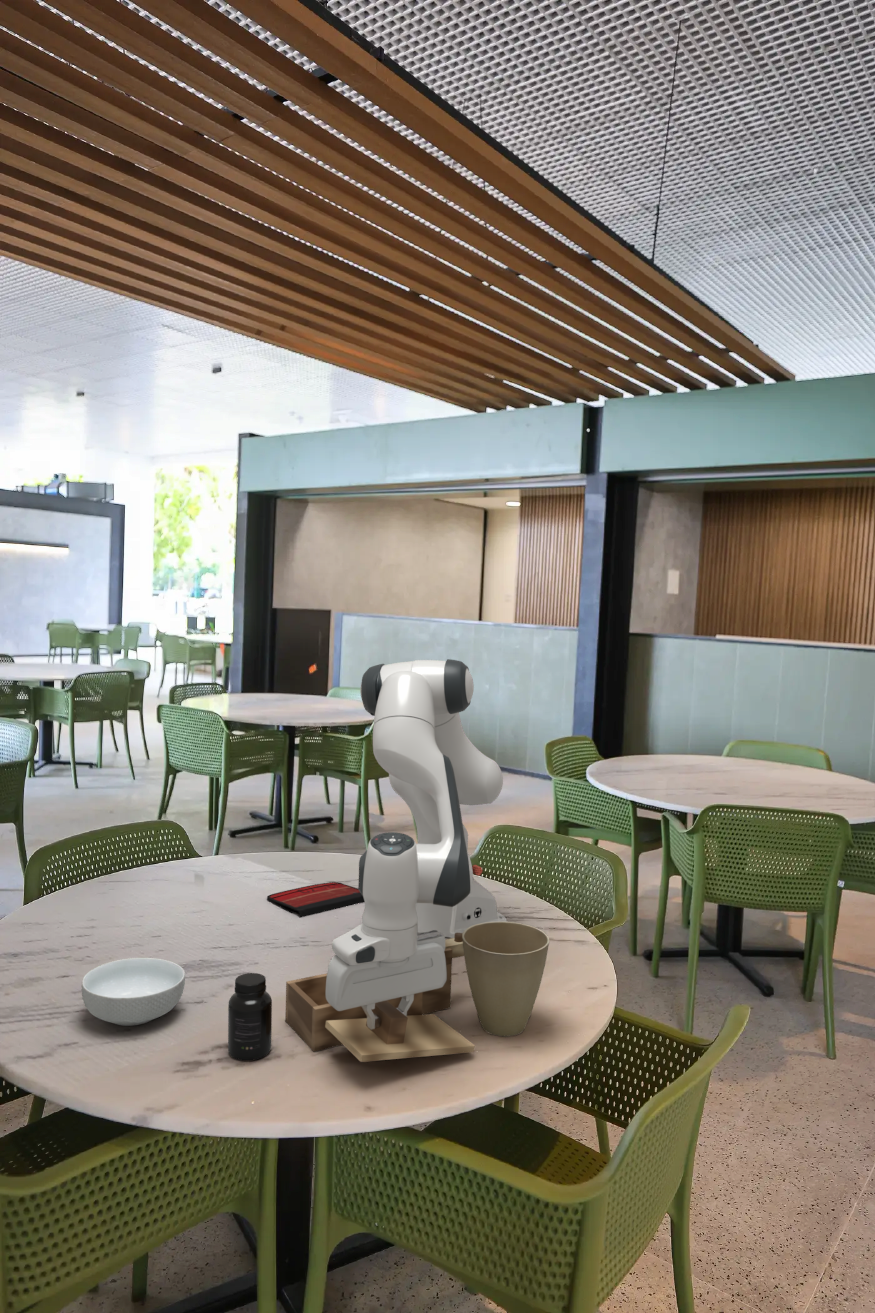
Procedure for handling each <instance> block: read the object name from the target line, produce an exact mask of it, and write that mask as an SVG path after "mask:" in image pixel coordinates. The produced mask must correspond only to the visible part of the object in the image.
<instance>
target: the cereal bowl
mask: <svg viewBox="0 0 875 1313" xmlns="http://www.w3.org/2000/svg"><path fill="white" fill-rule="evenodd" d="M185 982H186V972H185V969H184V968H183V967H182V966H181V965H179V964H177V963H175V962H173V961H171V960H168V959H167V960H166V959H163V958H155V957H130V958H122V959H117V960H113V961H109V962H105V963H103V964H100V965H99V966H96V967H94V968H92V969H91V970H89V971H88V972H87V973H85V975H84V977H83V978H82V981H81V996H82V997H81V998H82V1001H83V1004H84V1007H85V1008H86V1010H87V1011H88V1012H89V1013H90V1014H91V1015H93V1017H96V1018H97V1019H99V1020H102V1021H105V1022H106V1023H112V1024H114V1025H118V1026H124V1027H126V1026H127V1027H128V1026H131V1027H132V1026H138V1025H139V1026H140V1025H143V1024H146V1023H148V1022H151V1021H152V1020H155V1019H157V1018H159V1017H162V1016H164V1015H166V1014H167V1013H168V1012H170V1011H171V1010H173V1008H175V1006H176V1005H177V1004H178V1003H179V1001H180V999H181V997H182V996H183V994H184V989H185Z"/></svg>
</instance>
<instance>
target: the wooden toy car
mask: <svg viewBox="0 0 875 1313" xmlns="http://www.w3.org/2000/svg"><path fill="white" fill-rule="evenodd" d="M462 934H463V933H455V935H454V938H445V949H448V948H451V949H452V959H456V958H461V957H464V949H463V940H462Z"/></svg>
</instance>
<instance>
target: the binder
mask: <svg viewBox="0 0 875 1313" xmlns="http://www.w3.org/2000/svg"><path fill="white" fill-rule="evenodd" d="M266 900H267V901H268V902H270V903H272V904H274V905H275V906H276V907H279V908H280V909H282V910H283V911H286V912H288V913H290V914H293V912H294V913H299V916H298V917H299V919H300V918H301V919H302V918H304V917H308V916H312V915H317V914H321V913H325V912H329V911H334V910H337V909H342V908H345V907H346V906H347V907H349V906H354V904H355V905H358V903H359V904H362V903H365V901H364V897H363V896H362V894H361V893H360V891H359V890H358V887H355V886H351V885H349V884H345V883H342V882H339V881H330V882H323V883H317V884H311V885H306V886H301V887H298V888H292V889H287V890H282V891H279V892H276V893H272V894H271V893H270V894H269V895H267V897H266Z"/></svg>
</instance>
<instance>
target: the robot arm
mask: <svg viewBox="0 0 875 1313" xmlns="http://www.w3.org/2000/svg"><path fill="white" fill-rule="evenodd" d="M474 686H475V684H474V680H473V676H472V673H471V671H470V669H469V667H468V665H467V664H465V663H464V661H461V660H459V659H458V660H457V659H451V658H450V659H446V660H440V659H439V660H437V659H415V660H412V661H411V660H409V661H401V662H393V663H389V664H385V663H380V664H377V665H372V666H369V667H368V668H367V670H366V671H365V672H364V673H363V675H362V678H361V682H360V693H359V694H360V698H361V701H362V706H363V708H364V710H365V711H366V712H367V713H368V714H369V715H371V716H372V717H373V718H374V719H373V727H372V728H373V730H372V751H373V755H374V758H375V760H376V762H377V763H378V765H379V766H380V767H381V768H382V769H383V770H384V771H385V772H386V773H388V779H389V783H390V785H391V788H392V789H393V791H394V792H395V794H396V795H398V796H399V797H400V798H401V800H402V801H404V802H405V804H406V805H407V806H408V808H409V810H410V812H411V814H412V816H413V818H414V822H415V825H416V826H415V827H416V832H417V834H416V835H417V843H416V840H415V839H413V837H411V836H410V835H408V834H407V833H406V834H405V833H403V832H402V833H401V832H393V831H389V832H384V833H383V832H382V833H379V834H377V835H375V836H373V837H372V838H370V840H369V841H368V846H367V849H366V850H365V851H364V852H363V854H361V855H360V858H359V860H358V887H357V888H358V890H359V891H360V893H361V894H362V896H363V897H364V901H365V902H364V909H363V912H362V916H361V923H360V924H359V925H357V926H356V927H354V928H353V929H350V930H349V931H347V932H344V933H343V934H341V935H339V936H337V937H336V938H334V939H333V940H332V942H331V950H332V952H333V953H334V956H332V958H331V959H330V961H329V963H328V967H327V971H326V973H327V979H326V1000H327V1001H328V1003H329V1004H330V1005H331V1006H332V1007H333V1008H334V1009H336V1010H337V1011H343V1010H347V1009H351V1008H355V1007H360V1006H361V1007H362V1008H363V1010H364V1012H365V1014H366V1015H367V1026H368V1027H369V1028H370V1029H371V1030H372V1029H376V1028H380V1017H379V1016H377V1014H376V1013H374V1014H373V1012H372V1010H371V1009H375V1003H377V1002H382V1001H386V1000H390V999H395V998H399V997H402V999H401V1002H400V1004H399V1006H398V1008H396V1009H398V1010H399V1011H400V1012H401V1013H403V1014H404V1015H405V1016H406V1017H407V1011H408V1009H409V1007H410V1006H411V1004H412V1002H413V1000H414V994H416V993H421V992H425V991H429V990H434V989H438V988H442V987H443V986H444V984H445V982H446V980H447V972H446V960H445V953H444V951H445V940H446V938H449V939H451V938H454V935H455V933H463V932H464V931H465V930H466V929H467V928H469V927H471V926H473V925H476V924H480V923H486V922H508V920H507V918H506V916H504V914H502V913H501V912H499V911H498V906H497V900H496V898H495V895H494V894H493V893H492V892H491V891H489V889H487V888H486V887H484V885H482V884H481V883H480V882H478V881H477V880H476V879H474V875H475V876H476V877H477V876H481V875H482V874H483V867H481V866H479V865H477V864H473V865H472V860H471V857H470V854H469V852H468V850H469V849H468V848H469V834H468V830H467V828H466V826H465V824H464V823H463V818H462V811H461V805H464V806H480V805H489V804H492V803H493V802H494V801H496V800H497V799H498V797H499V795H500V794H501V791H502V789H503V785H504V776H503V772H502V769H501V768H500V766H499V764H498V763H497V762H496V761H495V760H494V759H492V758H490V757H488V756H487V755H486V754H484V753H482V752H481V751H480V750H479V749H478V748H477V747H476V746H475V745H474V744H473V743H472V742H471V740H470V739H469V738H468V736H467V735H466V734H467V733H465V731H464V728H463V724H462V720H461V716H460V713H461V712H464V711H465V710H466V709H467V708H468V707H469V706H470V705H471V700H472V698H473V695H474V688H475V687H474Z"/></svg>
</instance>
